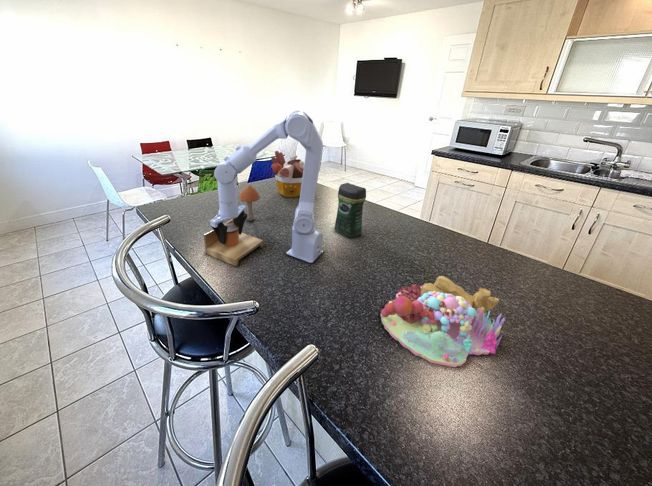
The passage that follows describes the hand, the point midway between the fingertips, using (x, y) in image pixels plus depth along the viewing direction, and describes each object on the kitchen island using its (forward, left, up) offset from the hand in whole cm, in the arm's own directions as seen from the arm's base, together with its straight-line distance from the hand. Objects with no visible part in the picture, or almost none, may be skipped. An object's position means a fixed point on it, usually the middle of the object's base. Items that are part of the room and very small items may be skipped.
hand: (230, 238), depth 96 cm
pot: (0, 0, -2) cm, 2 cm away
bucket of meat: (+11, -55, -4) cm, 56 cm away
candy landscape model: (-63, -2, -4) cm, 63 cm away
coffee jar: (-28, -33, -4) cm, 43 cm away
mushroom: (+8, -20, -4) cm, 22 cm away
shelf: (-2, 0, -4) cm, 4 cm away
